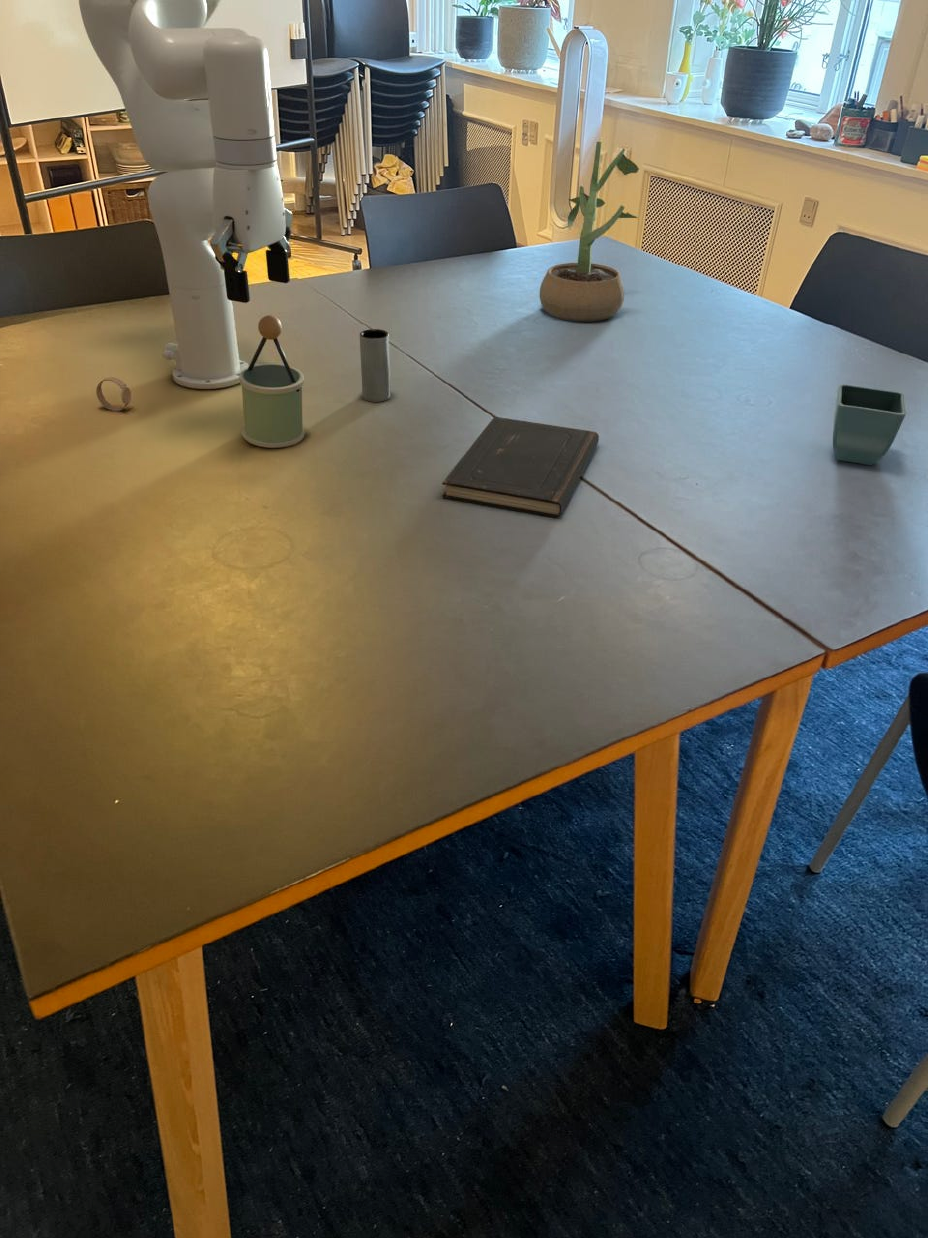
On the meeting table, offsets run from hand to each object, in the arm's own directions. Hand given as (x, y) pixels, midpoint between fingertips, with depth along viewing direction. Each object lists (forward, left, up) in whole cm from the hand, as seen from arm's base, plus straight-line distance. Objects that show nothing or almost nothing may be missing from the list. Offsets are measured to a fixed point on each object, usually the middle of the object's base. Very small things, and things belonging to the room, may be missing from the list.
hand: (259, 290), depth 128 cm
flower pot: (+80, +30, -21) cm, 88 cm away
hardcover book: (+38, +5, -21) cm, 43 cm away
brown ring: (-27, -2, -21) cm, 35 cm away
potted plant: (+23, +81, -21) cm, 87 cm away
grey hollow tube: (+7, +20, -21) cm, 30 cm away
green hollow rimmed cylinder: (+5, 0, -12) cm, 13 cm away
